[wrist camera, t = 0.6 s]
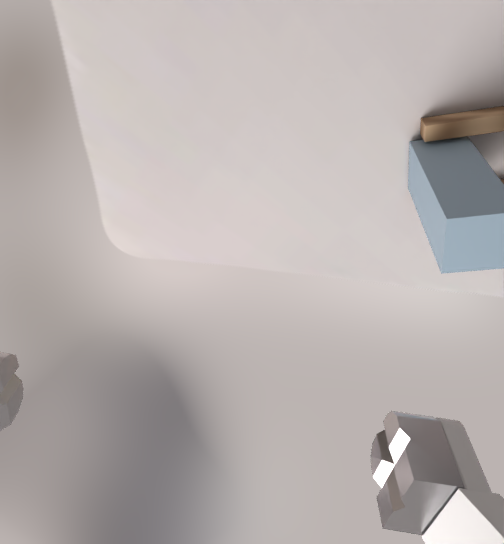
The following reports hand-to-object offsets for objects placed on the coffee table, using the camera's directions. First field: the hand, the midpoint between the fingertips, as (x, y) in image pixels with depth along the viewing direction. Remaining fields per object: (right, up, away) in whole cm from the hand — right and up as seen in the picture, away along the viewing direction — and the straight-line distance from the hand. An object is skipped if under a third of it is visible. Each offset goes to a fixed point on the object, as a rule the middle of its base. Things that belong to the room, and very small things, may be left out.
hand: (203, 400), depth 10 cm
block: (+19, +14, +33) cm, 41 cm away
